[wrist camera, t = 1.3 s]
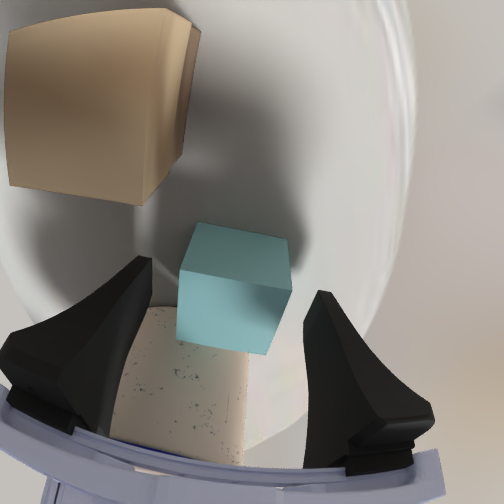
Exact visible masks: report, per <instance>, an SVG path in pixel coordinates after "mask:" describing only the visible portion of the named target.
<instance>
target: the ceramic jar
mask: <svg viewBox="0 0 504 504" xmlns="http://www.w3.org/2000/svg"><path fill="white" fill-rule="evenodd" d="M176 330H177V307H163V306H162V307H151V308H148V309H147V312H146V315H145V317H144V319H143V321H142V324H141V326H140V328H139V330H138V333H137V335H136V337H135V340H134V342H133V344H132V347H131V349H130V351H129V354H128V356H127V359H126V362H125V365H124V369H123V373H122V376H121V380H120V384H119V388H118V392H117V396H116V401H115V406H114V411H113V416H112V422H111V428H110V435H109V439H112V440H115V441H119V442H122V443H125V444H129V445H132V446H136V447H139V448H143V449H147V450H151V451H155V452H159V453H163V454H168V455H172V456H177V457H182V458H188V459H193V460H199V461H205V462H212V463H219V464H227V465H236V466H243V452H244V436H245V419H246V402H247V386H248V368H249V356H248V353H247V352H241V351H234V350H228V349H223V348H217V347H211V346H206V345H201V344H196V343H191V342H186V341H181V340H176ZM129 465H130V464H129ZM132 466H133V465H132ZM134 468H135V471H139V472H144V473H149V474H155V475H160V476H161V475H170V474H165V473H161V472H156V471H152V470H148V469H144V468H140V467H137V466H134ZM172 476H174V475H172ZM178 477H179V476H178Z"/></svg>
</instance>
